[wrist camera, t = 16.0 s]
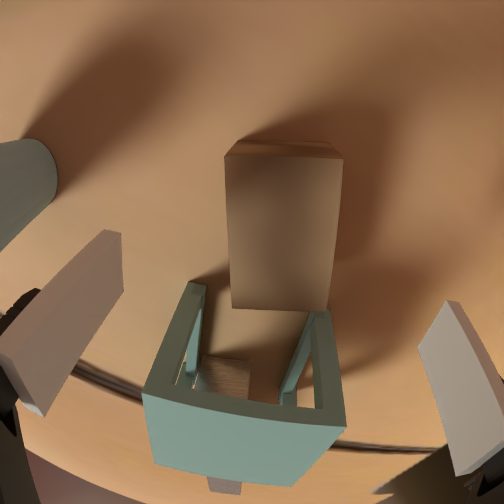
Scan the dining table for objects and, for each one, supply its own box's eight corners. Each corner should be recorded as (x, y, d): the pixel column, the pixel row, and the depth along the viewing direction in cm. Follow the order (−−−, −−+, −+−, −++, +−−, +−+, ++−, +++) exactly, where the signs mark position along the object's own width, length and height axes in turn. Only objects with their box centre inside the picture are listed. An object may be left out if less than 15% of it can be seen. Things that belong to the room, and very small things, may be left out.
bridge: (182, 371, 26) (154, 463, 18) (188, 281, 21) (141, 392, 13) (292, 391, 26) (291, 486, 18) (329, 309, 22) (346, 427, 13)
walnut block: (241, 264, 21) (232, 308, 17) (238, 140, 17) (224, 155, 13) (318, 267, 20) (326, 311, 16) (328, 142, 16) (343, 159, 12)
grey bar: (215, 461, 37) (210, 491, 33) (203, 352, 25) (190, 400, 21) (243, 464, 37) (240, 495, 32) (251, 358, 25) (245, 407, 21)
